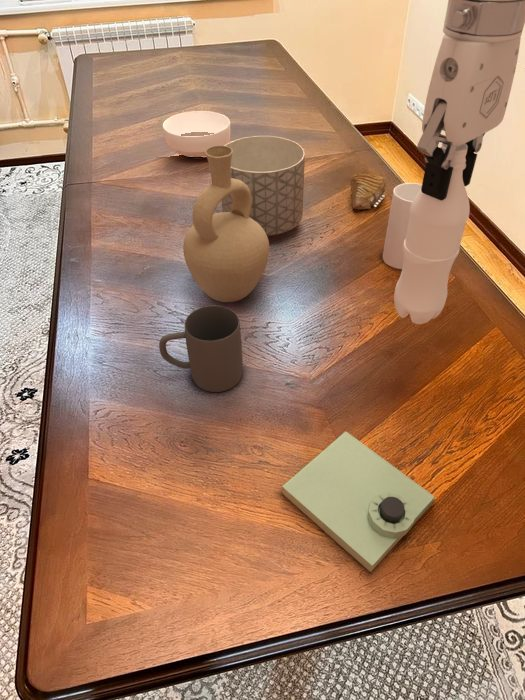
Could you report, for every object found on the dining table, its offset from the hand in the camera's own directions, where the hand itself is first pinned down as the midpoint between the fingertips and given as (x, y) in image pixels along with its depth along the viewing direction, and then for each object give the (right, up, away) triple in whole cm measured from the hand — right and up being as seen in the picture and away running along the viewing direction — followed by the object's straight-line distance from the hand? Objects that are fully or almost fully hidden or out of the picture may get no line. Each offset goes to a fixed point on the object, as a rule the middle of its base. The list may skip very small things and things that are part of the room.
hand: (445, 187), depth 65 cm
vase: (-29, -8, +47) cm, 56 cm away
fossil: (+5, +18, +73) cm, 75 cm away
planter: (-22, +10, +65) cm, 70 cm away
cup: (+9, 0, +54) cm, 55 cm away
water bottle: (0, -14, +14) cm, 20 cm away
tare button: (-5, -41, +6) cm, 42 cm away
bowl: (-41, +40, +97) cm, 113 cm away
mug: (-32, -24, +29) cm, 50 cm away
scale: (-9, -41, +11) cm, 43 cm away
